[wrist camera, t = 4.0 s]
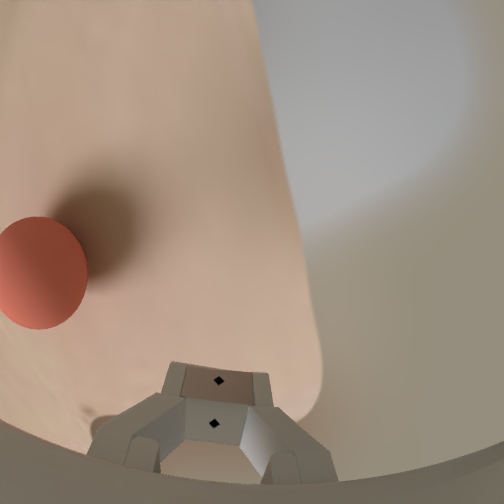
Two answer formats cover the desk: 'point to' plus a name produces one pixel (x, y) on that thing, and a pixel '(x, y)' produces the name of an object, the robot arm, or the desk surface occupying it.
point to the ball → (40, 273)
